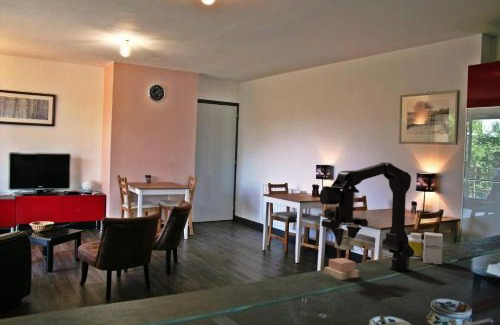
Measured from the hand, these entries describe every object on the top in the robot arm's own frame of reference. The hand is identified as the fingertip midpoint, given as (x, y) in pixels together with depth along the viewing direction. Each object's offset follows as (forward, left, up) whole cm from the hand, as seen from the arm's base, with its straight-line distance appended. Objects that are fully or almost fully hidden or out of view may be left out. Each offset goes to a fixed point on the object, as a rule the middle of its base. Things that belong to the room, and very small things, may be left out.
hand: (344, 245), depth 158 cm
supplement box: (-51, +1, -12) cm, 53 cm away
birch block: (+1, 0, -12) cm, 12 cm away
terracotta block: (0, 0, -9) cm, 9 cm away
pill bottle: (-51, -8, -12) cm, 53 cm away
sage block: (0, 0, -1) cm, 1 cm away
